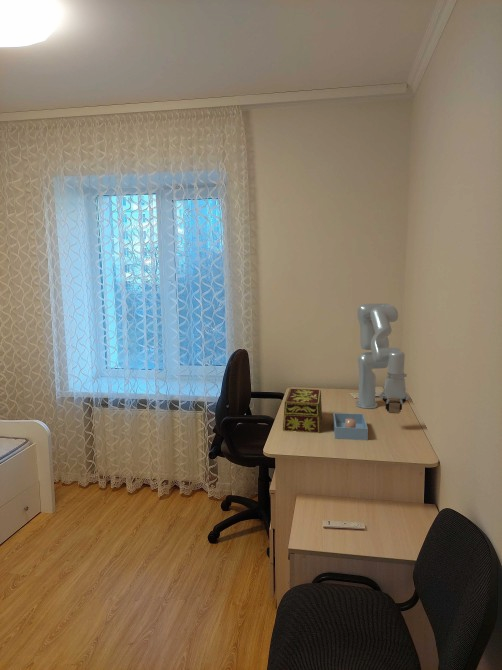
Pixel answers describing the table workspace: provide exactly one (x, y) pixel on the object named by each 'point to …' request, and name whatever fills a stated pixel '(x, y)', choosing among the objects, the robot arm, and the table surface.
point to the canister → (350, 423)
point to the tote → (350, 433)
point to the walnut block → (394, 406)
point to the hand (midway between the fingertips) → (393, 410)
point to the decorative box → (303, 411)
